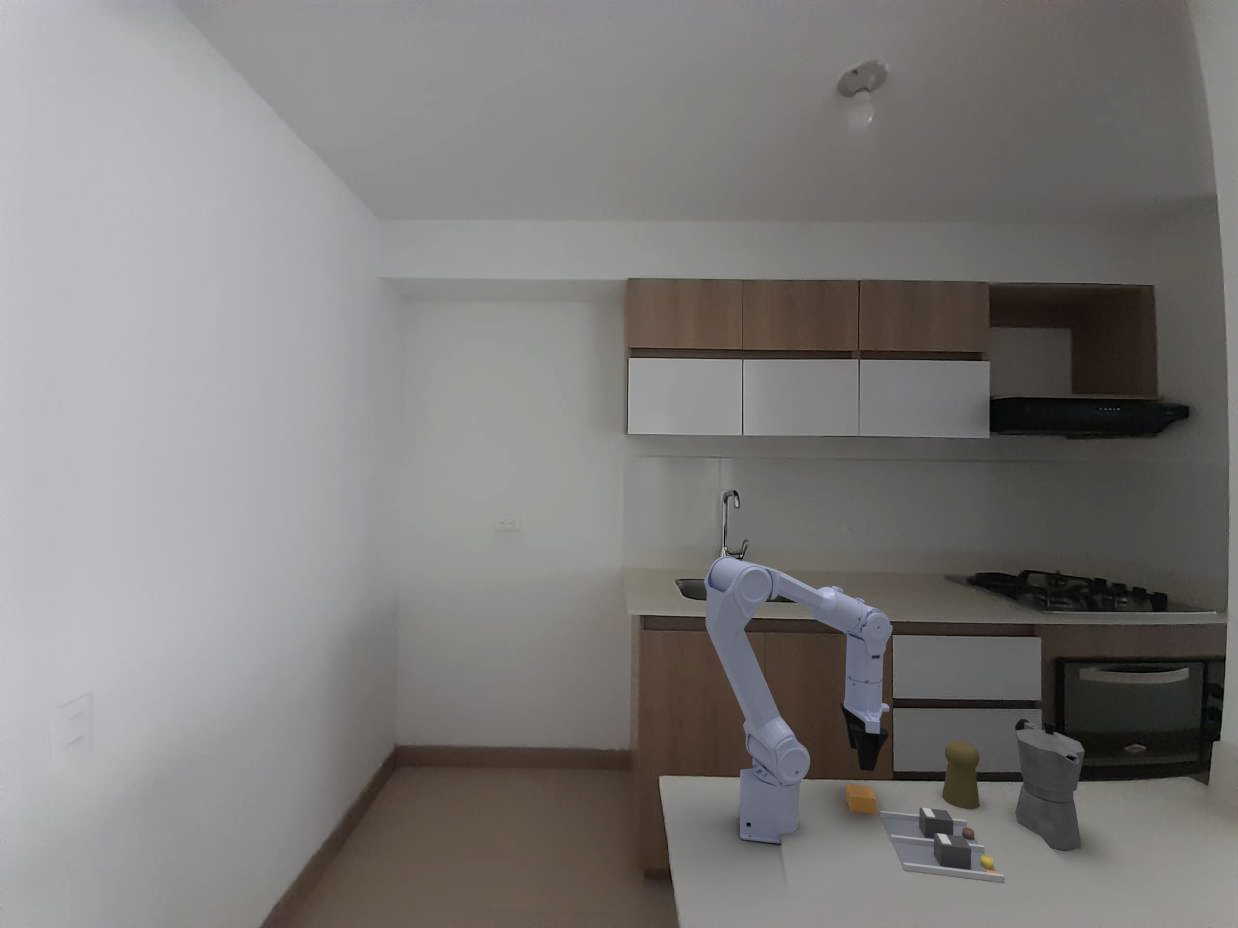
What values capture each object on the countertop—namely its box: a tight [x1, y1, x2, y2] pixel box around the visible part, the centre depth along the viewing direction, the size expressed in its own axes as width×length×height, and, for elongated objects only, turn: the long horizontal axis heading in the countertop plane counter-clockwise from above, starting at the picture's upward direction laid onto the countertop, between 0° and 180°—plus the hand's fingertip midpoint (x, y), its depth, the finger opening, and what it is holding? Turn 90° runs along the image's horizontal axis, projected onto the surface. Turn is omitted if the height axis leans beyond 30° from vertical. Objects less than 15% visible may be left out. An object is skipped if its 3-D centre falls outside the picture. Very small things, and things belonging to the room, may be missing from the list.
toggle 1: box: [918, 807, 954, 839], centre depth 98 cm, size 4×3×3 cm
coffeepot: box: [1014, 718, 1086, 851], centre depth 103 cm, size 15×9×18 cm, turn 176°
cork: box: [941, 740, 981, 810], centre depth 108 cm, size 6×6×11 cm
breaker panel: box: [879, 810, 1006, 884], centre depth 95 cm, size 13×14×2 cm
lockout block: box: [845, 783, 877, 815], centre depth 106 cm, size 4×4×4 cm
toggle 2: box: [934, 833, 971, 870], centre depth 91 cm, size 4×3×3 cm
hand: (861, 758), depth 106 cm, fingers open, 7 cm apart
